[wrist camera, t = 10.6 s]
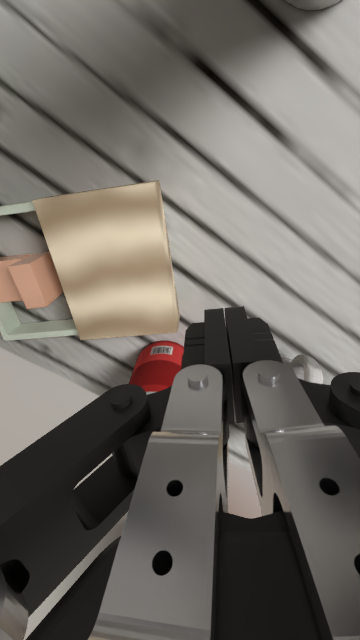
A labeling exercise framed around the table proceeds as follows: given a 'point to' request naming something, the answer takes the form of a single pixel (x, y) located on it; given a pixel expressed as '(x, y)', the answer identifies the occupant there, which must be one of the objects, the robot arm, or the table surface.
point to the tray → (5, 317)
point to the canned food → (157, 366)
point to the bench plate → (113, 259)
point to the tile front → (36, 280)
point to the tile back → (9, 279)
